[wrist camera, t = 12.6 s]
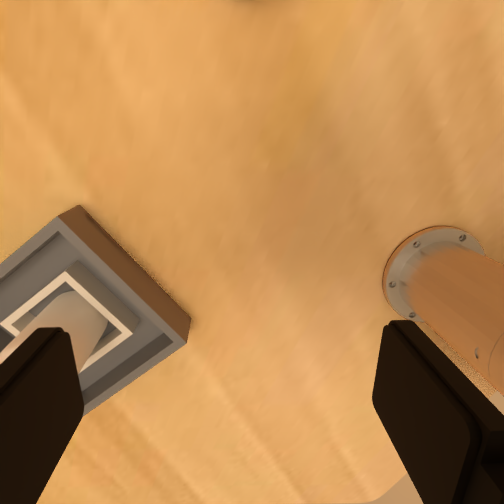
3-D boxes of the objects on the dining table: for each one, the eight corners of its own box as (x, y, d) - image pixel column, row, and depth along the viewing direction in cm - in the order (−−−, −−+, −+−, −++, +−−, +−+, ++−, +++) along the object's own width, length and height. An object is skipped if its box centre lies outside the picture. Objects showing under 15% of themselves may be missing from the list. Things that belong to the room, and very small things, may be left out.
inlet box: (191, 318, 41) (186, 343, 36) (85, 394, 43) (68, 426, 39) (79, 204, 35) (57, 216, 30) (-35, 300, 37) (-72, 324, 33)
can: (103, 343, 40) (55, 427, 28) (46, 329, 38) (-27, 411, 27) (115, 298, 38) (69, 368, 27) (56, 281, 36) (-18, 348, 25)
